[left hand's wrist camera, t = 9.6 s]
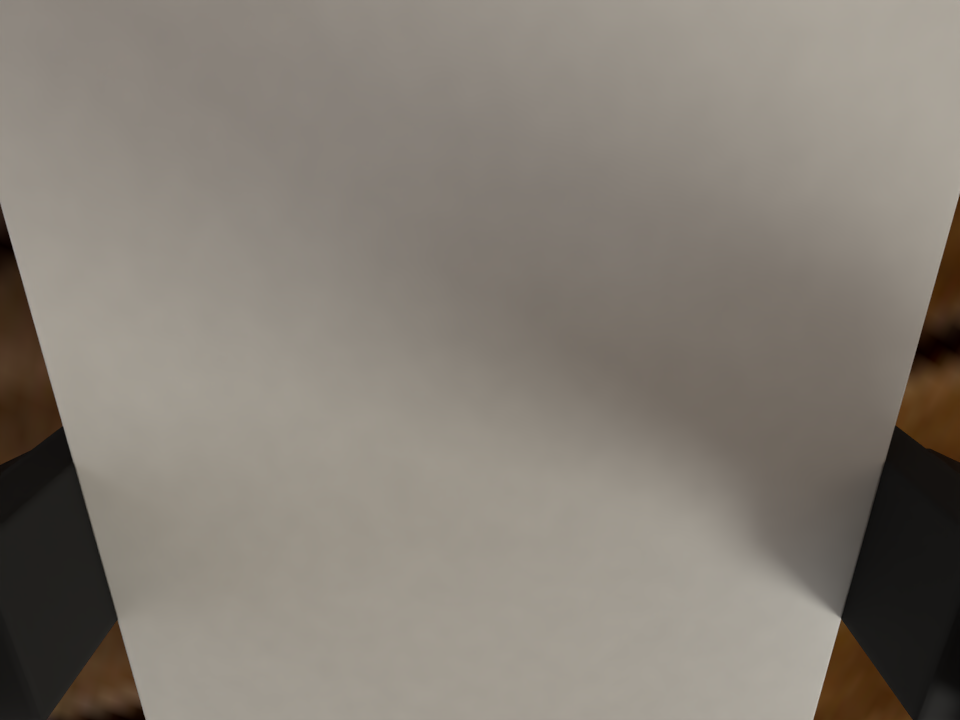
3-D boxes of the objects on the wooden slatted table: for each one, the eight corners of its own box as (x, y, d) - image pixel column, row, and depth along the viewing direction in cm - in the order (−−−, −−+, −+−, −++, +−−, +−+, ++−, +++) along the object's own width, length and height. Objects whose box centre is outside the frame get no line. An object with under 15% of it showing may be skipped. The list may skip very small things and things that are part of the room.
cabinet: (181, -465, 11) (-642, -2058, 3) (773, -463, 11) (1586, -2038, 3) (300, 474, 19) (157, 766, 10) (658, 474, 19) (801, 765, 10)
